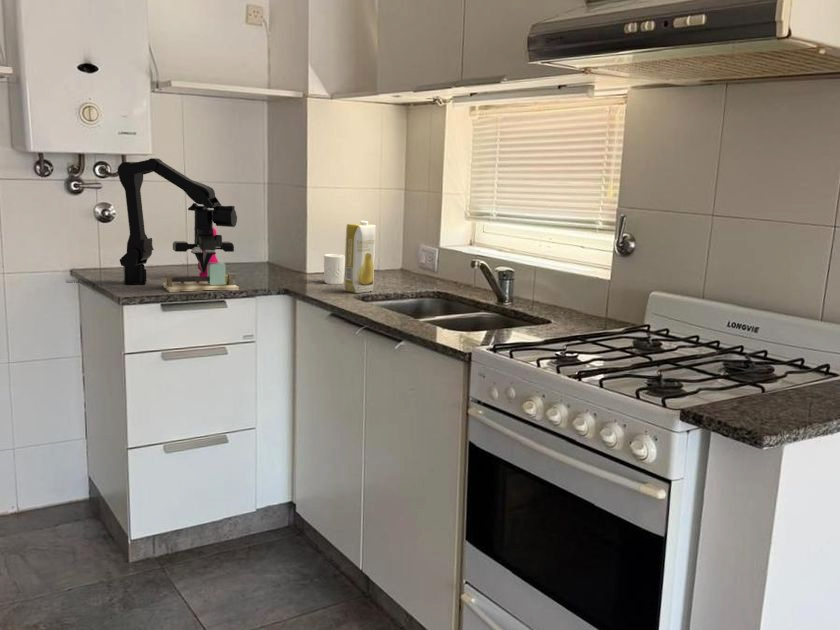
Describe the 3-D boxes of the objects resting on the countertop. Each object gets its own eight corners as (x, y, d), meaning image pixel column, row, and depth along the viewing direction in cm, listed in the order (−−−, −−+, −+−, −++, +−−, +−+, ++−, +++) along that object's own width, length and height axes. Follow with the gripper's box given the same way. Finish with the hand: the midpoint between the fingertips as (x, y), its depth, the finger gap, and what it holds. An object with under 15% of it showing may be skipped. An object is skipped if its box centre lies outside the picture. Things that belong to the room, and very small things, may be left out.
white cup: (318, 283, 283) (319, 255, 281) (330, 280, 290) (331, 253, 288) (337, 285, 280) (338, 257, 278) (349, 282, 287) (350, 255, 285)
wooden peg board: (169, 292, 250) (169, 277, 249) (162, 286, 261) (162, 272, 260) (238, 290, 260) (238, 276, 260) (229, 284, 271) (229, 270, 270)
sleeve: (210, 285, 260) (210, 264, 258) (207, 283, 263) (207, 262, 262) (225, 284, 262) (225, 264, 261) (222, 282, 266) (222, 262, 264)
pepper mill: (205, 280, 276) (204, 223, 272) (193, 277, 281) (192, 221, 276) (223, 278, 281) (222, 222, 277) (211, 275, 286) (210, 220, 282)
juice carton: (356, 294, 264) (359, 222, 260) (340, 290, 270) (342, 219, 265) (376, 291, 271) (379, 221, 267) (360, 288, 276) (363, 219, 272)
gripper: (178, 227, 246) (178, 276, 249) (238, 228, 254) (237, 276, 257) (172, 223, 255) (172, 271, 258) (230, 224, 264) (229, 271, 267)
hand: (203, 272), depth 260 cm, fingers closed
